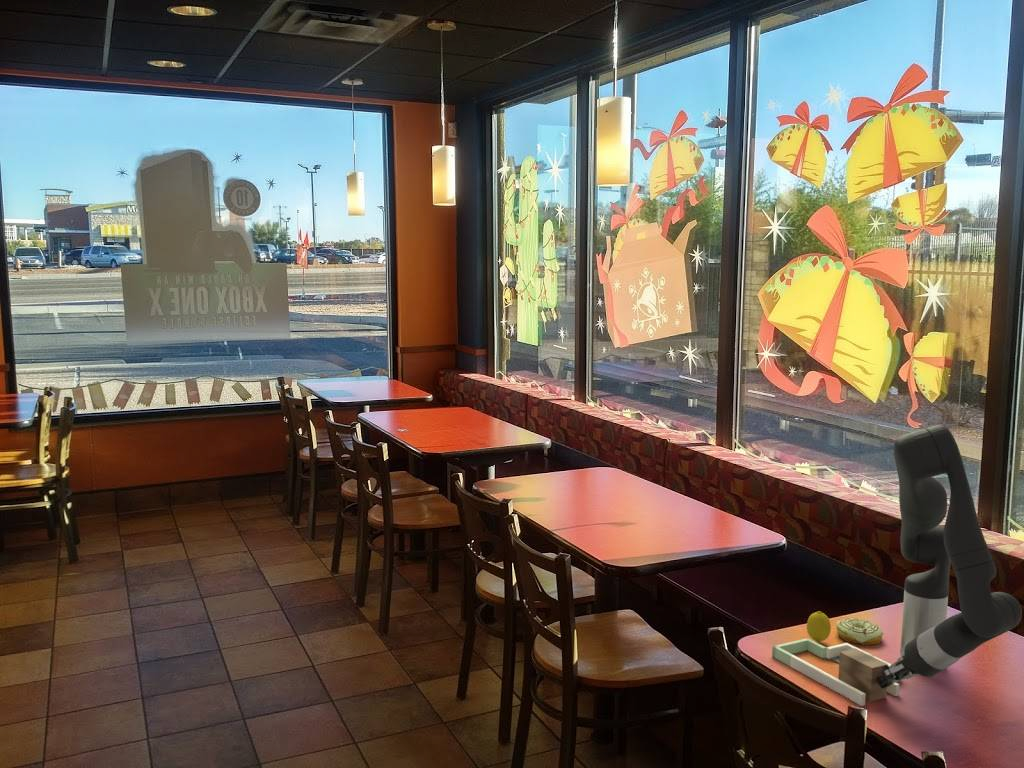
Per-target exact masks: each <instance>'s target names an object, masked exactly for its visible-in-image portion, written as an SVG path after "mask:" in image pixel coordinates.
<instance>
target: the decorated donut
mask: <svg viewBox="0 0 1024 768" xmlns="http://www.w3.org/2000/svg"><path fill="white" fill-rule="evenodd" d="M835 628H836V631H837V635H839V637H840V638H841V639H843V640H844V641H846V640H847V641H846V642H848V641H849V642H848V643H853V644H858V643H859V644H858V645H863V644H864V645H863V646H872V645H878V644H880V642H881V641H882V639H883V635H884V633H883V629H881V627H880V626H879V625H877V624H876V623H874V622H872V621H870V620H867V619H866V620H865V619H862V618H855V617H852V618H851V617H850V618H848V617H847V618H843V619H840V620H838V621H837V622H836V625H835Z"/></svg>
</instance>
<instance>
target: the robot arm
mask: <svg viewBox="0 0 1024 768" xmlns="http://www.w3.org/2000/svg"><path fill="white" fill-rule="evenodd" d="M893 456H894V463H895V467H896V471H897V476H898V485H899V487H898V488H899V490H898V498H899V500H898V501H899V511H900V512H899V513H900V518H901V527H900V529H901V530H900V539H899V541H900V552H901V555H902V556H903V558H904V559H905V560H906V561H909V562H912V563H916V564H917V563H919V564H924V565H930V566H931V565H932V566H934V567H933V568H931V569H929V570H927V571H922V572H918V573H913V574H910V575H908V576H907V577H905V580H904V589H903V603H902V604H903V607H902V619H901V638H900V639H901V640H900V650H899V655H900V656H899V657H898V658H897V660H896V661H894V662H893V663H891V664H892V665H890V666H884V667H883V668H882V672H881V673H882V676H881V677H879V678H878V679H877V681H878V683H879V685H880V687H881V688H886V687H889V686H891V685H892V684H894V683H895V682H896V683H897V682H902V681H904V680H908V679H911V678H913V677H915V676H917V675H919V676H922V677H925V678H931V677H934V676H935V675H937V674H940V672H942V671H944V670H947V669H948V668H950V667H951V666H953V665H954V664H956V663H957V662H958V661H960V660H961V659H962V658H963V657H964V656H967V655H968V654H969V653H972V652H973V651H975V650H976V649H977V648H979V647H980V646H982V645H983V644H984V643H986V642H988V641H991V640H993V639H995V638H997V637H999V636H1001V635H1003V634H1005V633H1006V632H1007V633H1008V632H1009V631H1011V630H1013V629H1014V628H1016V627H1017V626H1018V625H1019V624H1020V622H1021V620H1022V617H1023V610H1022V606H1021V603H1020V602H1019V600H1018V599H1017V598H1016V597H1014V596H1013V595H1011V594H1009V593H1008V592H1002V591H993V592H991V591H992V590H991V581H992V580H993V579H994V578H995V577H996V576H997V567H996V564H995V561H994V559H993V556H992V554H991V552H990V550H989V547H988V544H987V541H986V539H985V536H984V534H983V530H982V528H981V524H980V522H979V518H978V513H977V510H976V507H975V502H974V499H973V494H972V492H971V491H972V490H971V487H970V483H969V479H968V477H967V473H966V469H965V465H964V462H963V459H962V454H961V451H960V449H959V446H958V443H957V441H956V438H955V437H954V435H953V433H952V432H951V431H950V429H949V428H948V427H947V426H945V425H943V424H937V425H932V426H929V427H926V428H922V429H919V430H915V431H912V432H909V433H906V434H905V433H904V434H903V435H901V436H899V437H897V438H896V439H895V440H894V443H893ZM943 474H946V475H947V478H948V483H949V487H950V496H949V497H950V498H949V504H948V493H947V491H946V488H945V487H944V486H943V484H941V482H940V481H939V480H937V479H936V478H934V477H937V476H940V475H943ZM945 518H946V519H945ZM944 520H945V523H944V525H942V524H941V523H942V522H943V521H944ZM951 566H952V569H953V572H954V574H955V575H956V582H957V583H956V584H957V592H958V593H957V594H958V600H959V601H958V602H959V607H960V613H957V614H954V615H951V616H949V617H948V603H949V602H948V601H949V591H950V590H949V589H950V588H949V587H950V585H949V583H950V572H951V571H950V570H951Z"/></svg>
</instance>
